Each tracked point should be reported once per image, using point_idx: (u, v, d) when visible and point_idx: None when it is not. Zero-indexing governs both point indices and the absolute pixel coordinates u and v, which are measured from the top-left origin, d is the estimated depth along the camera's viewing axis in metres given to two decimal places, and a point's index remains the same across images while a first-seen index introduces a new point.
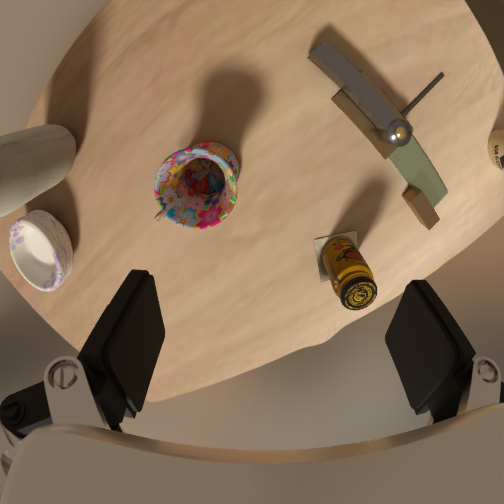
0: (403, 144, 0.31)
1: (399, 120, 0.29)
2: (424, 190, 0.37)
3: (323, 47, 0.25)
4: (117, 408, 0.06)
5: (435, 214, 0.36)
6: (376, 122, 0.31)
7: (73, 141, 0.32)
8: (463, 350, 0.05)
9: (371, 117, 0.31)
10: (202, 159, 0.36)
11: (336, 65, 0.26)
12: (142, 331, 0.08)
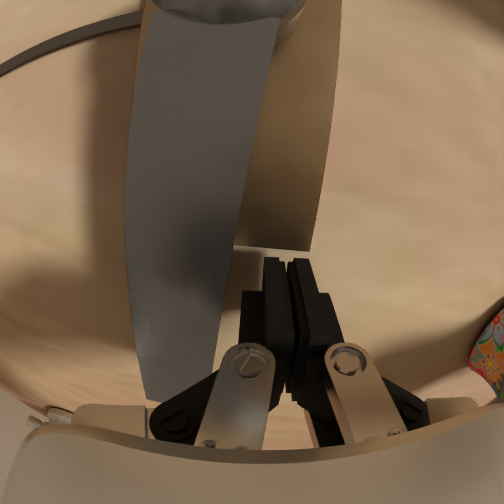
0: None
1: None
2: None
3: (168, 399, 0.10)
4: None
5: None
6: None
7: None
8: (311, 330, 0.06)
9: None
10: None
11: (183, 368, 0.09)
12: None
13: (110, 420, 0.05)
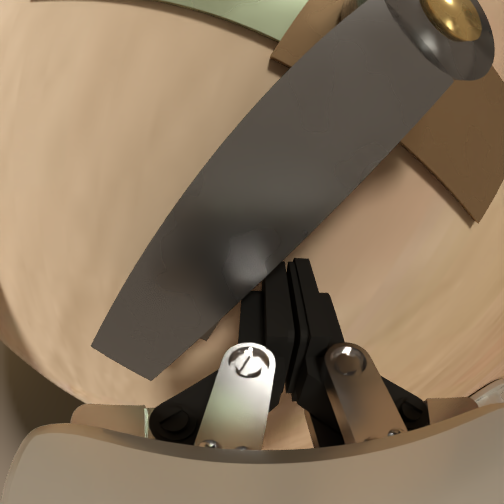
0: (481, 13, 0.03)
1: None
2: None
3: (117, 355, 0.09)
4: None
5: None
6: None
7: None
8: (312, 330, 0.06)
9: None
10: None
11: (163, 329, 0.08)
12: None
13: (110, 419, 0.05)
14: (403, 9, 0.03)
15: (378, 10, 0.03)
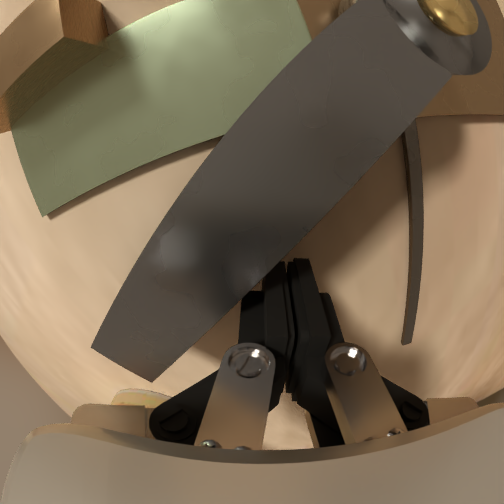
0: (477, 8, 0.03)
1: None
2: (69, 102, 0.07)
3: (117, 356, 0.09)
4: None
5: None
6: None
7: None
8: (311, 330, 0.06)
9: None
10: None
11: (163, 329, 0.08)
12: None
13: (110, 420, 0.05)
14: (399, 4, 0.03)
15: (374, 6, 0.03)
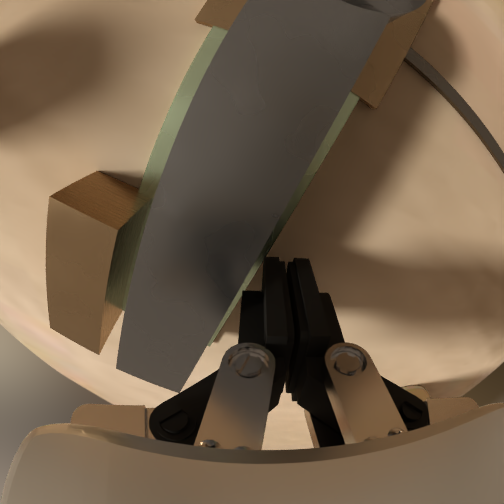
0: None
1: None
2: None
3: (141, 372, 0.09)
4: None
5: (95, 334, 0.09)
6: None
7: None
8: (312, 330, 0.06)
9: None
10: None
11: (173, 339, 0.08)
12: None
13: (110, 420, 0.05)
14: None
15: None
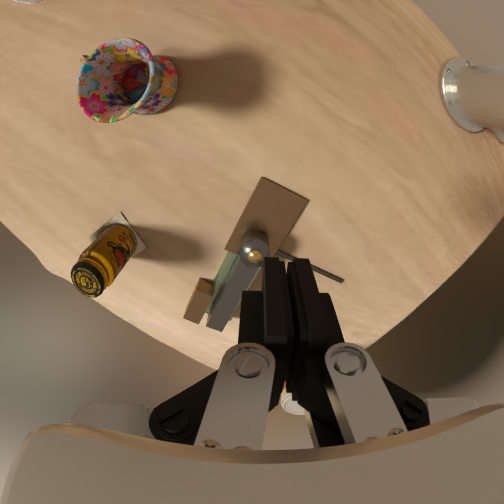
0: (264, 247, 0.36)
1: (242, 259, 0.37)
2: None
3: (212, 326, 0.43)
4: None
5: (200, 318, 0.43)
6: None
7: None
8: (312, 330, 0.06)
9: None
10: None
11: (222, 316, 0.42)
12: None
13: (110, 420, 0.05)
14: (245, 260, 0.37)
15: (241, 263, 0.37)
